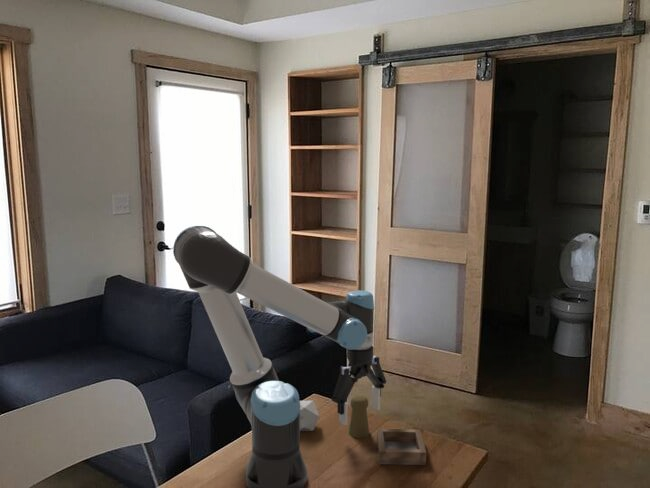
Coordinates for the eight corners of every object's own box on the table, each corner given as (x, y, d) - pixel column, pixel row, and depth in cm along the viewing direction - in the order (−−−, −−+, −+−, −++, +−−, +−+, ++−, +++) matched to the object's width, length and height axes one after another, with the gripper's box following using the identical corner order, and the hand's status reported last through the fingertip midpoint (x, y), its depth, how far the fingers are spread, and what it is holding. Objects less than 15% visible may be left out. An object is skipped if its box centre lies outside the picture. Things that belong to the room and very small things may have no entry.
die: (284, 427, 161) (283, 411, 154) (302, 404, 166) (301, 388, 159) (307, 443, 158) (307, 428, 150) (324, 419, 163) (325, 403, 156)
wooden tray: (379, 464, 140) (379, 451, 140) (377, 440, 152) (377, 428, 152) (425, 465, 140) (426, 452, 139) (419, 441, 152) (420, 429, 151)
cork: (368, 439, 153) (368, 402, 151) (347, 436, 154) (347, 400, 152) (370, 428, 159) (371, 393, 157) (350, 426, 160) (350, 391, 158)
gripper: (337, 360, 141) (337, 435, 144) (398, 338, 158) (397, 406, 161) (318, 352, 147) (319, 425, 150) (379, 332, 163) (378, 398, 167)
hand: (359, 415), depth 156 cm, fingers open, 13 cm apart
